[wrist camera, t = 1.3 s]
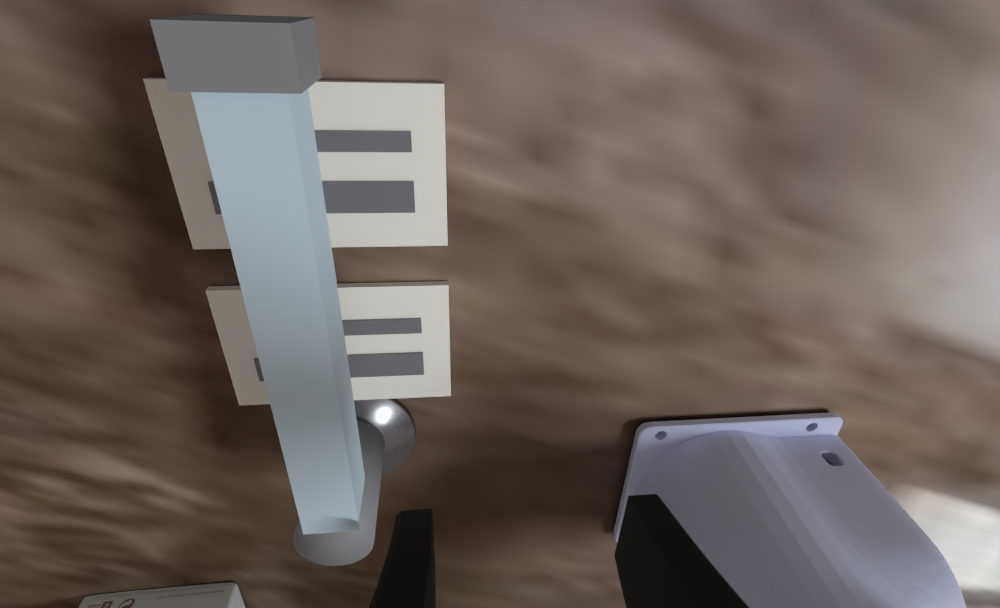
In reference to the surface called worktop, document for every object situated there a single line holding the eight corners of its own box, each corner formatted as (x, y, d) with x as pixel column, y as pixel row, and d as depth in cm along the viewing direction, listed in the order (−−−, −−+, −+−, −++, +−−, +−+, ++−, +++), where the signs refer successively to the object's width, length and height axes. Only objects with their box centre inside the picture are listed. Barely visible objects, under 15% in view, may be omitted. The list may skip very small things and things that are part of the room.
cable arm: (387, 464, 22) (376, 568, 18) (323, 468, 22) (298, 574, 18) (336, 12, 13) (296, 22, 10) (230, 9, 13) (144, 19, 9)
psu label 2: (448, 280, 18) (448, 286, 18) (451, 391, 21) (450, 397, 21) (208, 286, 18) (204, 292, 17) (241, 400, 20) (238, 407, 20)
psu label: (444, 82, 15) (444, 84, 15) (447, 241, 18) (447, 246, 17) (148, 77, 14) (141, 79, 14) (196, 245, 17) (192, 250, 17)
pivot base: (412, 383, 21) (411, 387, 20) (418, 471, 23) (418, 476, 23) (279, 388, 20) (277, 393, 20) (301, 478, 23) (299, 484, 22)
